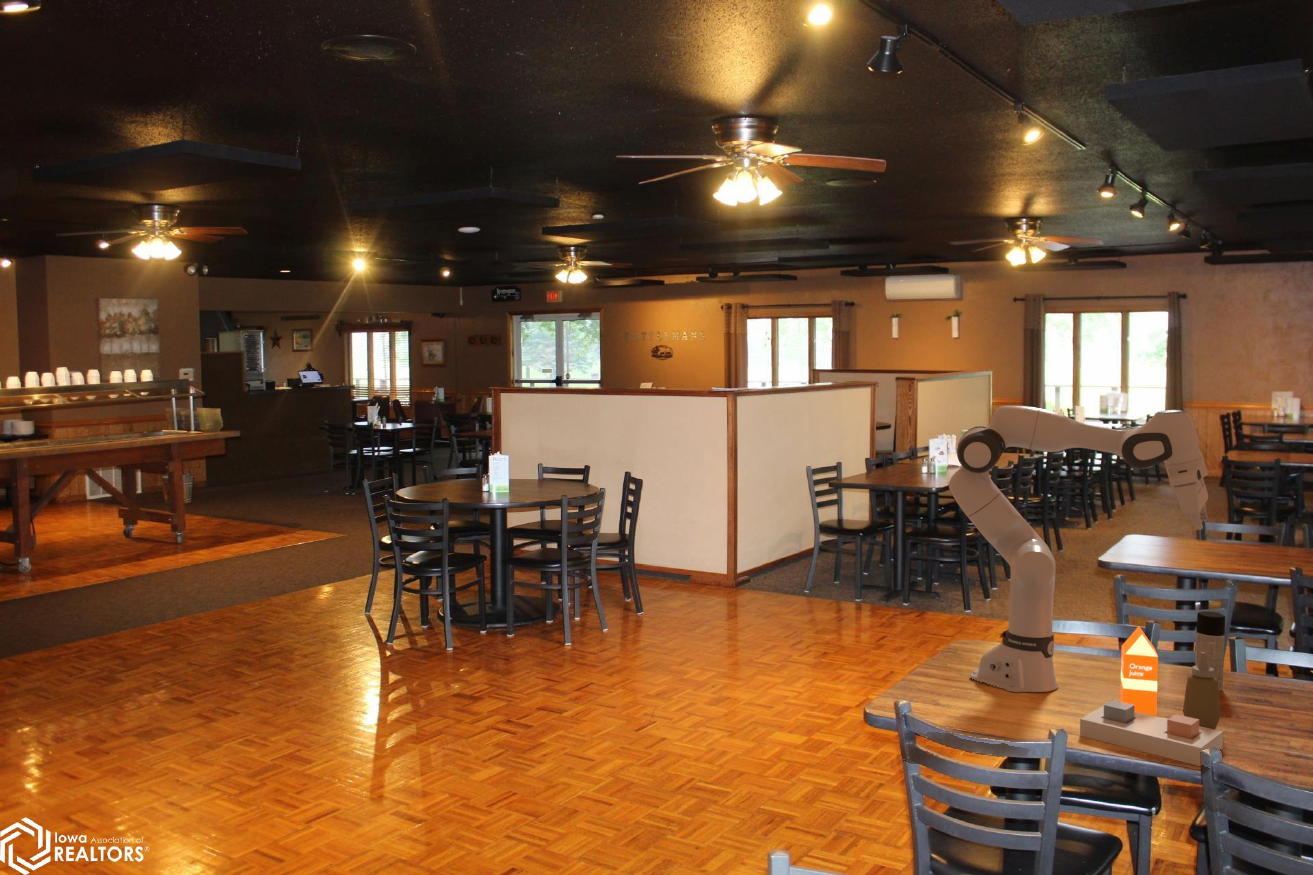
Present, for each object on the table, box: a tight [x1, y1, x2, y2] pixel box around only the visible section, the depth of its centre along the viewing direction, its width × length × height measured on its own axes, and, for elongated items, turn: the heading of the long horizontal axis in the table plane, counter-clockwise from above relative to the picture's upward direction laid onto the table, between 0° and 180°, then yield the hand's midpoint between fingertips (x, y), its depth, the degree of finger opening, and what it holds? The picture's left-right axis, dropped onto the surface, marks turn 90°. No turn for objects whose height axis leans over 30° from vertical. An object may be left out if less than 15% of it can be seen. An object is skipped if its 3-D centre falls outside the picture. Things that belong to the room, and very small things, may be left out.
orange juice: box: [1119, 625, 1159, 716], centre depth 259 cm, size 8×9×20 cm
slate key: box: [1103, 699, 1135, 724], centre depth 241 cm, size 5×5×4 cm
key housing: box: [1079, 705, 1224, 767], centre depth 236 cm, size 26×14×4 cm, turn 44°
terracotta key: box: [1166, 713, 1199, 740], centre depth 231 cm, size 5×5×4 cm
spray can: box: [1194, 611, 1226, 692], centre depth 274 cm, size 7×7×20 cm
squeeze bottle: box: [1182, 652, 1222, 730], centre depth 244 cm, size 8×8×18 cm
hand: (1201, 525), depth 260 cm, fingers open, 8 cm apart
